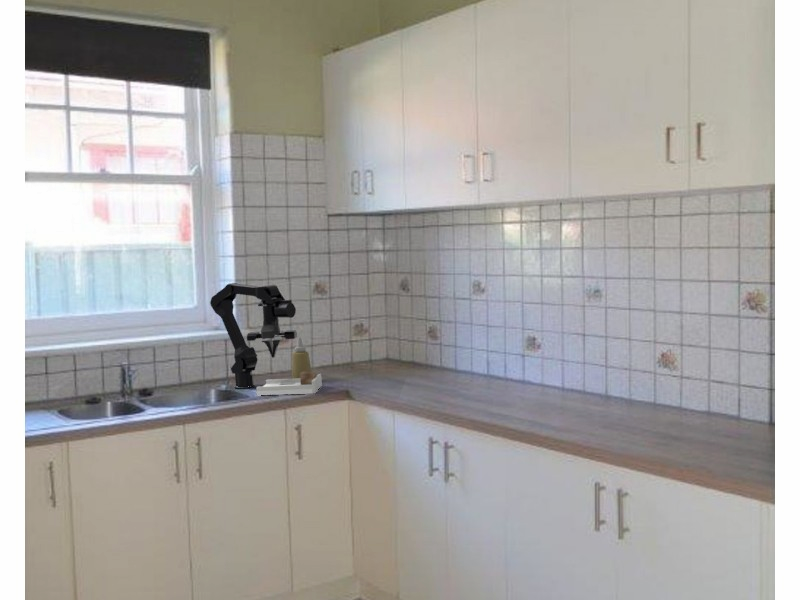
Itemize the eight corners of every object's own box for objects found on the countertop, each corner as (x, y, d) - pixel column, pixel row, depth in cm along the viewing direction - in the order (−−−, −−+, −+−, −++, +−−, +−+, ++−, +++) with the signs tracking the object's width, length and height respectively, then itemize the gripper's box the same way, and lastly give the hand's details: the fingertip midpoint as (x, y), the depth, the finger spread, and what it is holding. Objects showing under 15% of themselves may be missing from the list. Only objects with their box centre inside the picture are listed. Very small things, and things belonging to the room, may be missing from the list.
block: (300, 386, 329) (300, 373, 329) (303, 384, 334) (302, 371, 334) (313, 386, 329) (313, 373, 328) (316, 383, 334) (315, 371, 333)
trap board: (257, 396, 325) (256, 383, 325) (266, 388, 341) (265, 375, 340) (315, 394, 323) (314, 380, 323) (322, 386, 339) (321, 373, 339)
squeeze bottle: (310, 383, 347) (308, 338, 346) (290, 384, 347) (288, 339, 346) (313, 379, 355) (310, 336, 354) (293, 380, 356) (291, 337, 354)
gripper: (241, 320, 329) (244, 361, 330) (290, 318, 327) (293, 359, 328) (249, 317, 340) (251, 357, 341) (296, 315, 338) (298, 355, 339)
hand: (273, 357), depth 337 cm, fingers closed
